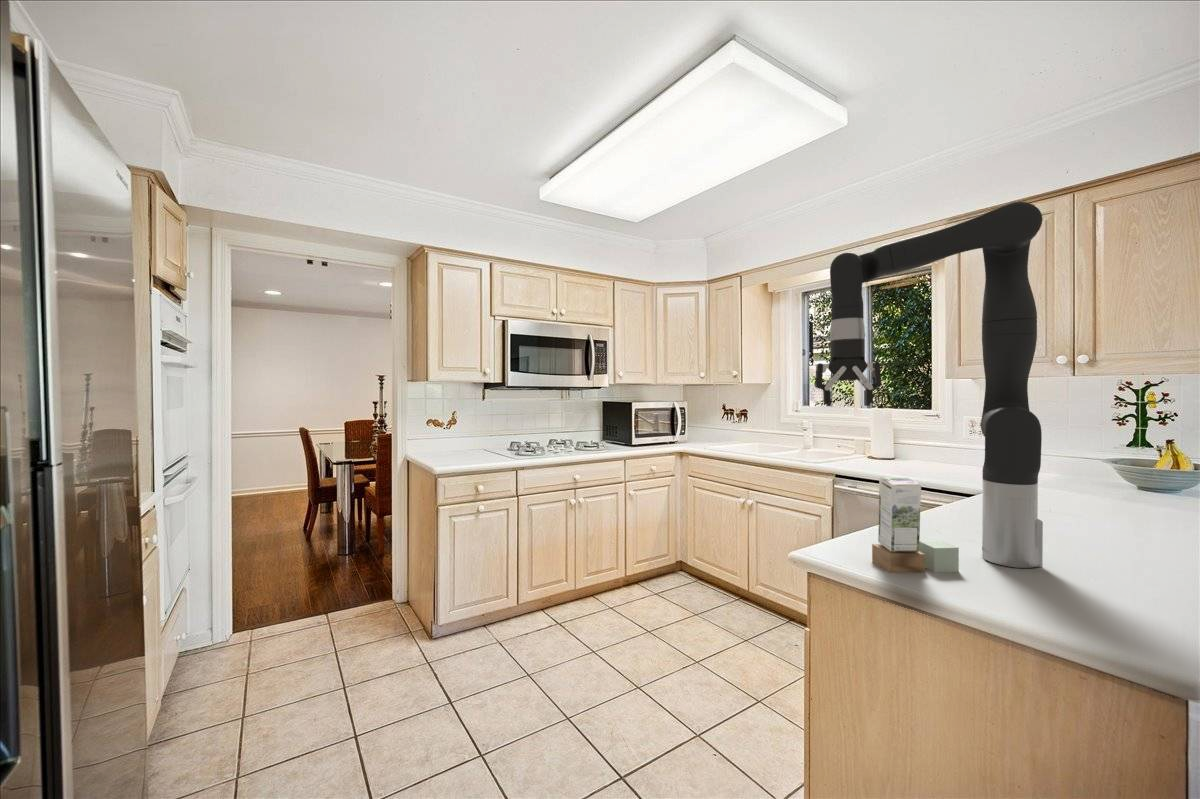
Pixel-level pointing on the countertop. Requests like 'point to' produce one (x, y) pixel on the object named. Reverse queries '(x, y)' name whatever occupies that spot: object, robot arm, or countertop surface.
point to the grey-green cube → (940, 556)
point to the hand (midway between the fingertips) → (847, 406)
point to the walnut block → (898, 560)
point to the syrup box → (899, 514)
